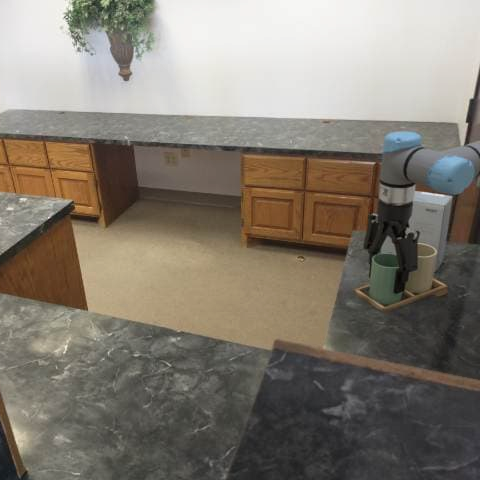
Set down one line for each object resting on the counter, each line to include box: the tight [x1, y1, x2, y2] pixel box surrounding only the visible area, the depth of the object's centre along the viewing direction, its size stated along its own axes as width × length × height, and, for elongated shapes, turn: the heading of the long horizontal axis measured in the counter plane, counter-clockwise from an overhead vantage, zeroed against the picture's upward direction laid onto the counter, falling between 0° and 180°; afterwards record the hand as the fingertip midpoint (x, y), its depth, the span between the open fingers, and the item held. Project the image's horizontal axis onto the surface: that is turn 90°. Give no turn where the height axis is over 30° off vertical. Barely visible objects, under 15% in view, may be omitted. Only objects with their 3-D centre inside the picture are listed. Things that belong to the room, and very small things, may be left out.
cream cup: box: [405, 243, 437, 295], centre depth 130 cm, size 8×8×12 cm
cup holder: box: [353, 277, 449, 314], centre depth 131 cm, size 11×20×2 cm, turn 112°
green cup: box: [368, 252, 403, 306], centre depth 127 cm, size 8×8×12 cm
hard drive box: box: [379, 190, 454, 273], centre depth 142 cm, size 16×8×20 cm, turn 49°
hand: (386, 284), depth 127 cm, fingers closed on green cup, 8 cm apart
